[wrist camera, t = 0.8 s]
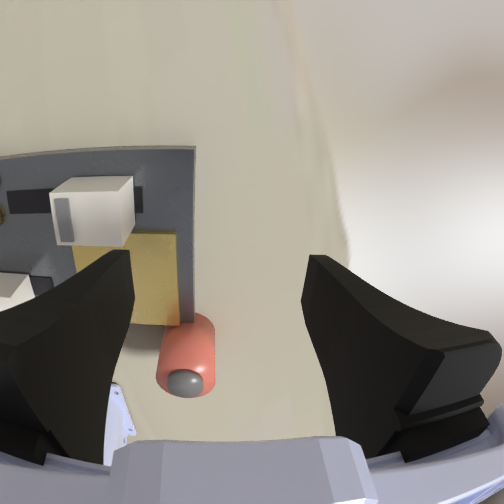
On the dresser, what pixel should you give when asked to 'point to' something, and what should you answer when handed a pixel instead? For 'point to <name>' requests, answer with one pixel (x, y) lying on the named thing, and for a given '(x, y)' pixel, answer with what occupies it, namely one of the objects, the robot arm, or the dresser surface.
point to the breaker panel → (78, 257)
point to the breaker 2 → (93, 211)
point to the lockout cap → (187, 358)
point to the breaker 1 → (14, 290)
